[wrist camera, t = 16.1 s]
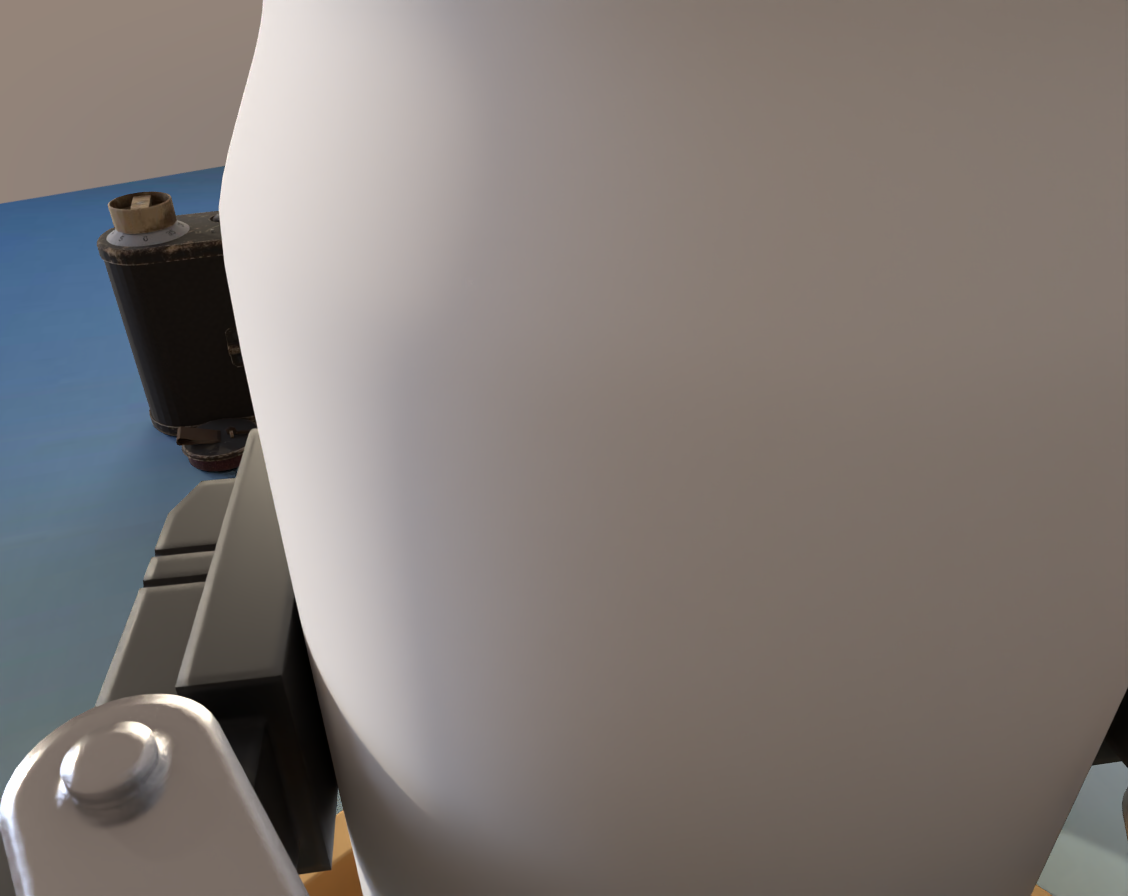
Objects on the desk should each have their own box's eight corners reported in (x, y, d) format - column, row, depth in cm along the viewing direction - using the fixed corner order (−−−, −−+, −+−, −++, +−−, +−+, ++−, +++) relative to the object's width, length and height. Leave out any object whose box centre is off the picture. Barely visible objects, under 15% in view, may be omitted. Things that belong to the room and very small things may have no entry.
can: (375, 830, 13) (187, -110, 7) (767, 733, 15) (909, -118, 8) (444, 1441, 8) (-63, -101, 2) (1040, 1199, 10) (1973, -128, 3)
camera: (145, 491, 28) (65, 250, 24) (155, 393, 34) (91, 182, 29) (626, 403, 33) (632, 185, 28) (568, 329, 38) (566, 136, 34)
